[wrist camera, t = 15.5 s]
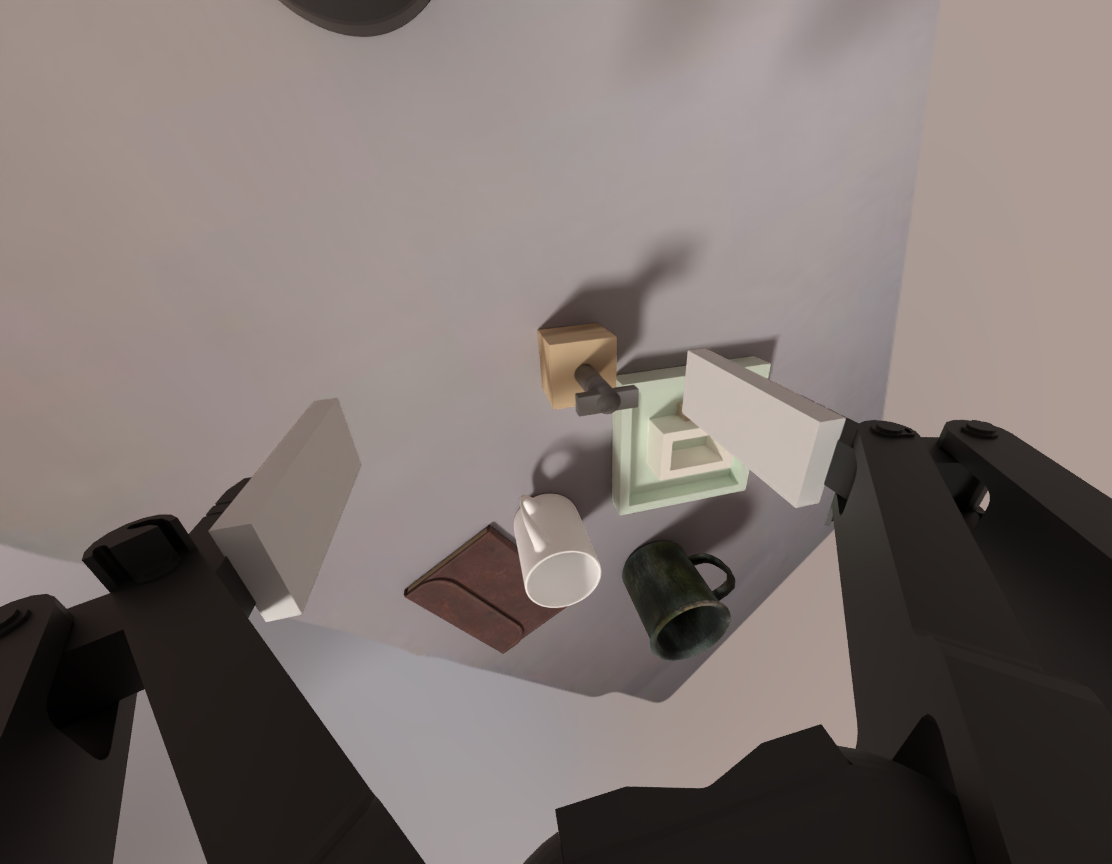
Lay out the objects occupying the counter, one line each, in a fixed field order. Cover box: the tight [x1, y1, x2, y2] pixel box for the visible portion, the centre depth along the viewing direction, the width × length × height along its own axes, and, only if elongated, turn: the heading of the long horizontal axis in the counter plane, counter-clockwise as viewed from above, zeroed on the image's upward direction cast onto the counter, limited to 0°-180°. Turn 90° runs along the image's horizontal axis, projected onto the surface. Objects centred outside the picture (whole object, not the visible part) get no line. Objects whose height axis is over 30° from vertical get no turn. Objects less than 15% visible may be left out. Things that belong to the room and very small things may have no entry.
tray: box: [612, 356, 771, 515], centre depth 49 cm, size 18×18×3 cm
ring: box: [646, 402, 733, 481], centre depth 48 cm, size 9×8×4 cm
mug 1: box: [514, 493, 601, 608], centre depth 47 cm, size 9×12×11 cm
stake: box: [538, 323, 639, 416], centre depth 37 cm, size 6×6×13 cm
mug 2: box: [622, 541, 735, 660], centre depth 56 cm, size 11×15×12 cm
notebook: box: [404, 525, 567, 654], centre depth 56 cm, size 15×20×2 cm
